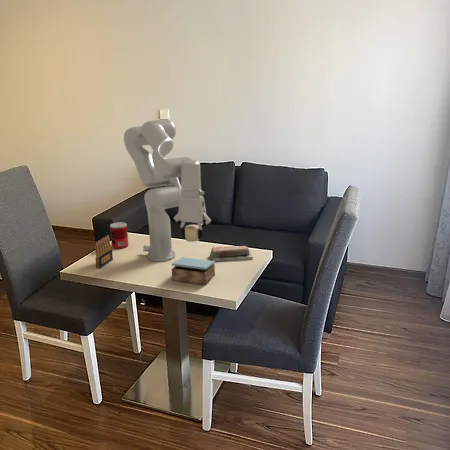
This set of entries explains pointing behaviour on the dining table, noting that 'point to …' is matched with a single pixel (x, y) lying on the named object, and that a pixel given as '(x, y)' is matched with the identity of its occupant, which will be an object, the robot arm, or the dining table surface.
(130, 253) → the dining table surface
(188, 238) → the cream bottle with knob
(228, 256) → the packaged product
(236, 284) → the dining table surface
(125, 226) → the canned food
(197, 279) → the crate
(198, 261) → the lid
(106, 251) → the ammunition clip
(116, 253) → the dining table surface
